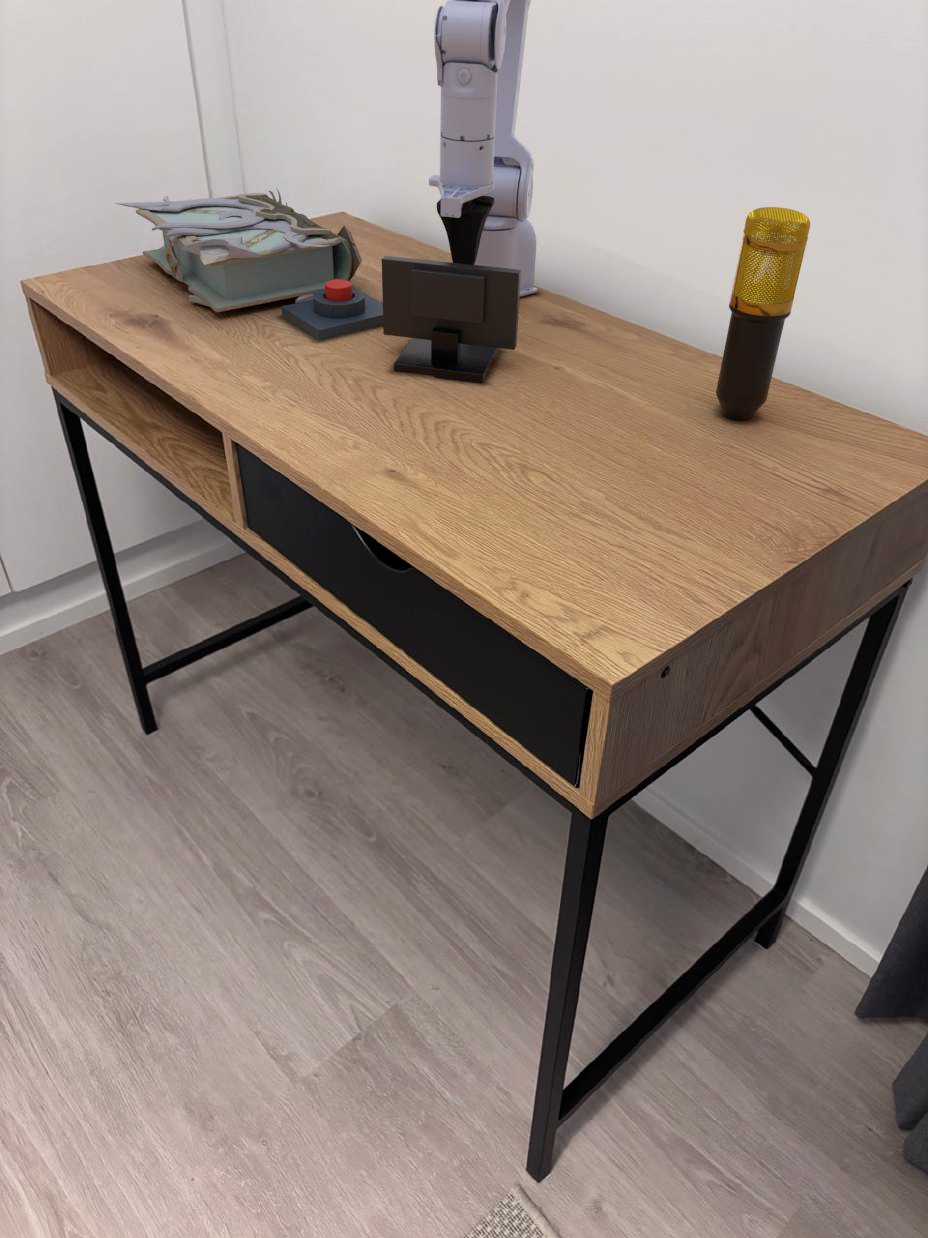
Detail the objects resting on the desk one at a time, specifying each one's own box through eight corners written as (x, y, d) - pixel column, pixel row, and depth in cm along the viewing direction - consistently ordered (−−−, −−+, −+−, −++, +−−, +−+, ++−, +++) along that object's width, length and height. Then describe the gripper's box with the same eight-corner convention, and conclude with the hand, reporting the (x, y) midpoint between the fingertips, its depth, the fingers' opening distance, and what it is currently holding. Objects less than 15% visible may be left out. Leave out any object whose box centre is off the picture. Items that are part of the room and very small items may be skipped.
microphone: (688, 372, 111) (721, 183, 99) (778, 418, 103) (826, 217, 91) (649, 384, 109) (678, 190, 97) (738, 431, 100) (782, 226, 88)
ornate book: (372, 302, 129) (268, 232, 147) (371, 226, 123) (263, 163, 141) (207, 337, 118) (118, 257, 137) (197, 255, 112) (106, 183, 131)
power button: (343, 291, 121) (342, 277, 120) (357, 299, 119) (357, 284, 118) (320, 296, 120) (319, 282, 119) (334, 304, 118) (333, 290, 117)
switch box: (359, 300, 127) (358, 276, 125) (398, 322, 121) (398, 297, 119) (281, 317, 121) (279, 292, 120) (319, 341, 116) (317, 316, 114)
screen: (386, 330, 113) (385, 255, 108) (516, 345, 110) (521, 269, 105) (381, 337, 111) (379, 261, 106) (513, 352, 109) (517, 275, 104)
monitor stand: (415, 341, 116) (415, 307, 114) (499, 351, 115) (501, 317, 112) (393, 372, 109) (393, 336, 107) (482, 383, 108) (484, 347, 105)
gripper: (447, 118, 110) (445, 244, 119) (411, 147, 99) (412, 283, 107) (509, 123, 109) (503, 250, 117) (481, 153, 98) (476, 290, 106)
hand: (464, 266), depth 112 cm, fingers closed
